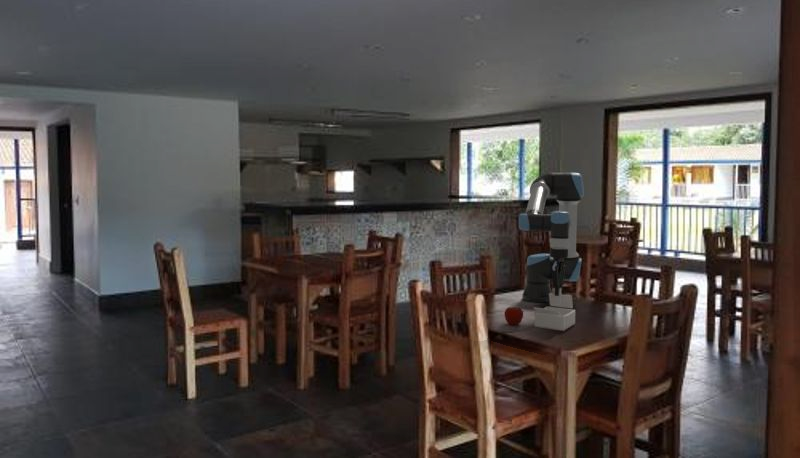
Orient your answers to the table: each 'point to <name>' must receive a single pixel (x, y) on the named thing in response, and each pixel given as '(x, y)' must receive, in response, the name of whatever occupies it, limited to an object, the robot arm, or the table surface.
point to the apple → (513, 315)
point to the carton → (555, 319)
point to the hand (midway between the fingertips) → (557, 302)
